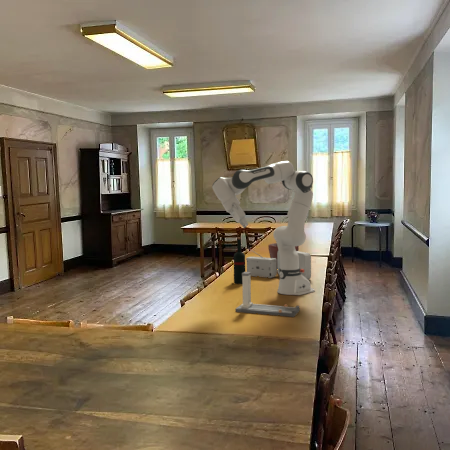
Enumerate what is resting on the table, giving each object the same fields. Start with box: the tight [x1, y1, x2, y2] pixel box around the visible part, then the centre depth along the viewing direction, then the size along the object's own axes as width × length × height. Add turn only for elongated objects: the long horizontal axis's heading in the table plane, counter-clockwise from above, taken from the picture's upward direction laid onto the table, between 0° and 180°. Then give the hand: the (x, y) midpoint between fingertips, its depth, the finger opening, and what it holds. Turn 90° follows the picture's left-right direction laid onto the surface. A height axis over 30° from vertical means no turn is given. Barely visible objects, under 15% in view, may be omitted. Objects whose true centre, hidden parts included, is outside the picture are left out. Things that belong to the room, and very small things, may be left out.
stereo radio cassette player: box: [245, 247, 278, 279], centre depth 318 cm, size 21×8×20 cm, turn 58°
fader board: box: [235, 303, 301, 318], centre depth 229 cm, size 30×12×3 cm, turn 68°
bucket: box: [268, 242, 300, 269], centre depth 345 cm, size 24×22×25 cm
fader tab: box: [240, 271, 254, 308], centre depth 232 cm, size 4×7×17 cm, turn 158°
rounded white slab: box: [277, 250, 312, 280], centre depth 314 cm, size 29×8×18 cm, turn 33°
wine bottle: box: [233, 236, 246, 285], centre depth 298 cm, size 8×10×30 cm
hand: (246, 226), depth 244 cm, fingers open, 8 cm apart
